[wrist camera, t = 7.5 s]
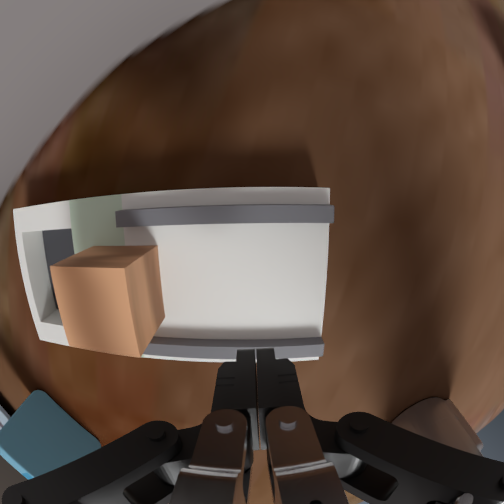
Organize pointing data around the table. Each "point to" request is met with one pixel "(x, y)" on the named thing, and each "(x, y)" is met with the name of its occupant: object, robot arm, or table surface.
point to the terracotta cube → (110, 298)
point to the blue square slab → (43, 437)
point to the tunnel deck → (199, 264)
